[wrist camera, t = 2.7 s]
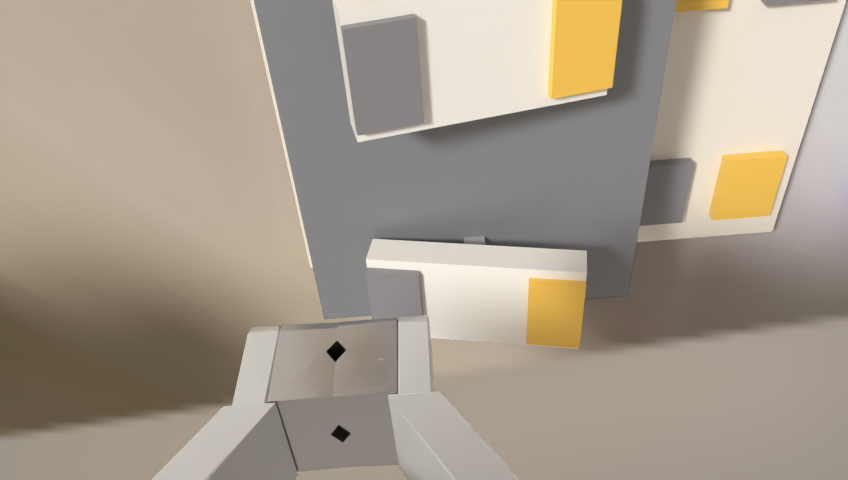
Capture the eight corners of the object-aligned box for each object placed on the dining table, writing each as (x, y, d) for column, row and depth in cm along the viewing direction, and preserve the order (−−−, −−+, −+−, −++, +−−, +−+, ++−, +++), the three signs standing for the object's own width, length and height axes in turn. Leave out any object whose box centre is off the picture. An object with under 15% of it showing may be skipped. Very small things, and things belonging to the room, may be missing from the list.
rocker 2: (383, 312, 29) (375, 339, 28) (372, 238, 27) (363, 264, 26) (578, 327, 28) (578, 355, 27) (586, 250, 26) (587, 278, 24)
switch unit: (312, 254, 34) (301, 342, 30) (234, -100, 24) (200, -46, 20) (763, 218, 34) (821, 302, 30) (876, -152, 24) (990, -111, 19)
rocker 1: (350, 123, 22) (359, 147, 21) (331, -5, 19) (340, 14, 18) (590, 78, 23) (611, 99, 22) (601, -47, 20) (626, -31, 19)
